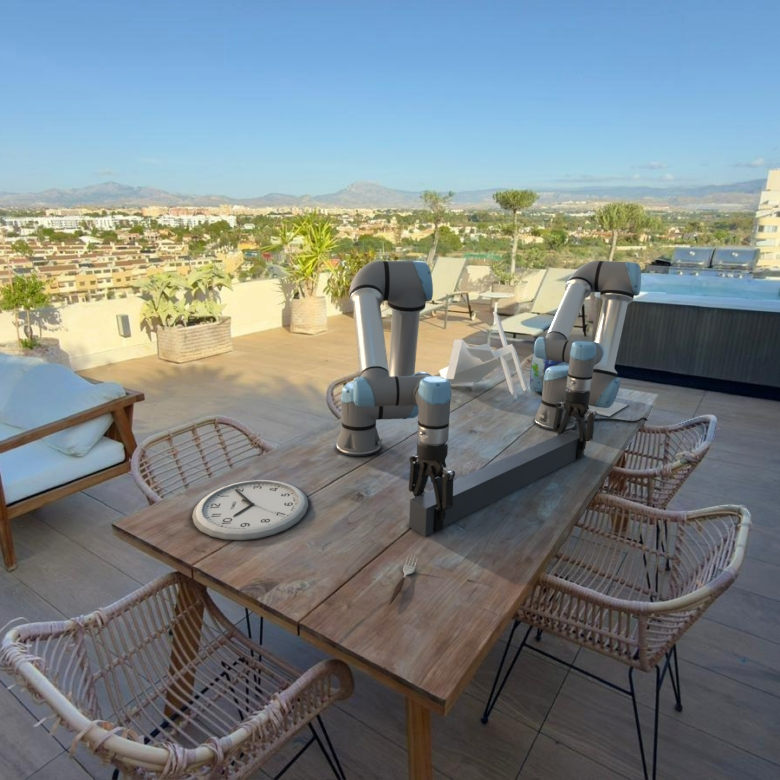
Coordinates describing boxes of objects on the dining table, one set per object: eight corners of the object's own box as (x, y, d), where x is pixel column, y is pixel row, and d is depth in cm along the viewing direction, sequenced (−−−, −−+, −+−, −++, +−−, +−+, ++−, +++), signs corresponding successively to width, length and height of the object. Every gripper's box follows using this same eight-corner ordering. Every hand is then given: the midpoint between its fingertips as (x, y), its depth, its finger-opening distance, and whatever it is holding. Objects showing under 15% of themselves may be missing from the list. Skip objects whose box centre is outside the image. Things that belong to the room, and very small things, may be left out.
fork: (383, 605, 105) (383, 597, 105) (407, 560, 120) (408, 552, 119) (395, 608, 104) (395, 600, 104) (418, 562, 119) (419, 555, 118)
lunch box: (546, 398, 236) (551, 353, 229) (525, 393, 243) (529, 349, 237) (573, 387, 253) (579, 344, 247) (553, 382, 260) (558, 341, 254)
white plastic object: (461, 429, 252) (437, 405, 227) (444, 352, 274) (420, 323, 250) (535, 404, 240) (518, 377, 215) (510, 326, 262) (492, 293, 237)
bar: (568, 450, 181) (570, 429, 179) (583, 455, 177) (586, 434, 175) (409, 526, 133) (410, 499, 131) (425, 536, 129) (426, 508, 127)
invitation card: (608, 416, 214) (573, 407, 224) (608, 416, 214) (573, 408, 224) (628, 404, 229) (594, 396, 238) (628, 405, 229) (594, 397, 238)
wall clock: (304, 532, 127) (176, 536, 124) (304, 538, 127) (177, 542, 125) (311, 475, 155) (207, 478, 153) (311, 480, 156) (208, 483, 153)
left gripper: (395, 432, 131) (393, 514, 138) (450, 457, 118) (445, 546, 125) (416, 425, 136) (414, 504, 143) (472, 448, 123) (466, 534, 129)
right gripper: (546, 384, 174) (539, 448, 181) (599, 398, 160) (589, 467, 167) (558, 381, 179) (551, 443, 186) (611, 394, 165) (601, 461, 172)
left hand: (428, 523), depth 134 cm, fingers closed on bar, 6 cm apart
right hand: (569, 454), depth 176 cm, fingers closed on bar, 6 cm apart
